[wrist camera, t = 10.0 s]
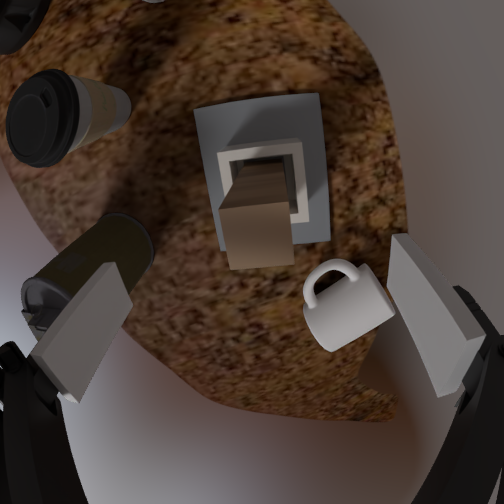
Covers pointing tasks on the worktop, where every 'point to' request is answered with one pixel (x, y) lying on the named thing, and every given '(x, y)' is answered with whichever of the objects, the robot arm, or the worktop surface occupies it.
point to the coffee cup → (61, 116)
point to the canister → (86, 267)
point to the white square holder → (286, 149)
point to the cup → (154, 1)
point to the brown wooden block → (257, 217)
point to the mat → (264, 129)
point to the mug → (345, 304)
